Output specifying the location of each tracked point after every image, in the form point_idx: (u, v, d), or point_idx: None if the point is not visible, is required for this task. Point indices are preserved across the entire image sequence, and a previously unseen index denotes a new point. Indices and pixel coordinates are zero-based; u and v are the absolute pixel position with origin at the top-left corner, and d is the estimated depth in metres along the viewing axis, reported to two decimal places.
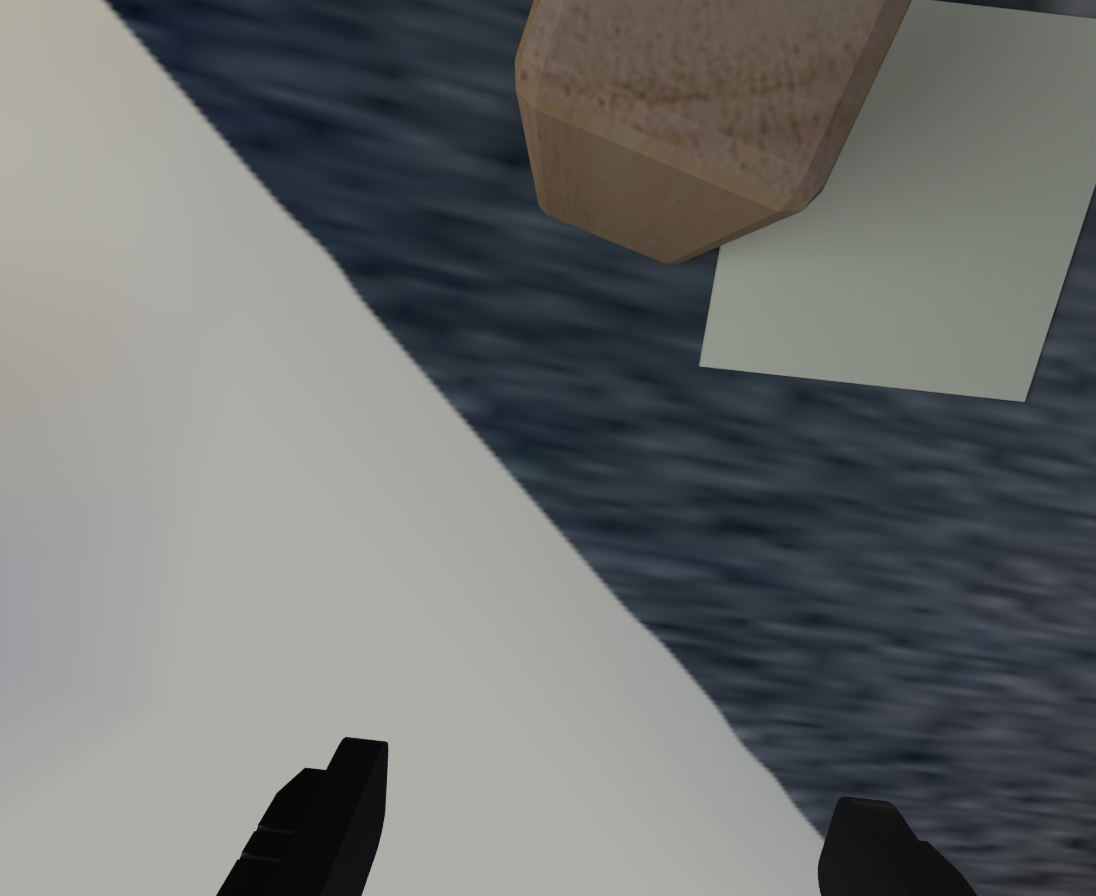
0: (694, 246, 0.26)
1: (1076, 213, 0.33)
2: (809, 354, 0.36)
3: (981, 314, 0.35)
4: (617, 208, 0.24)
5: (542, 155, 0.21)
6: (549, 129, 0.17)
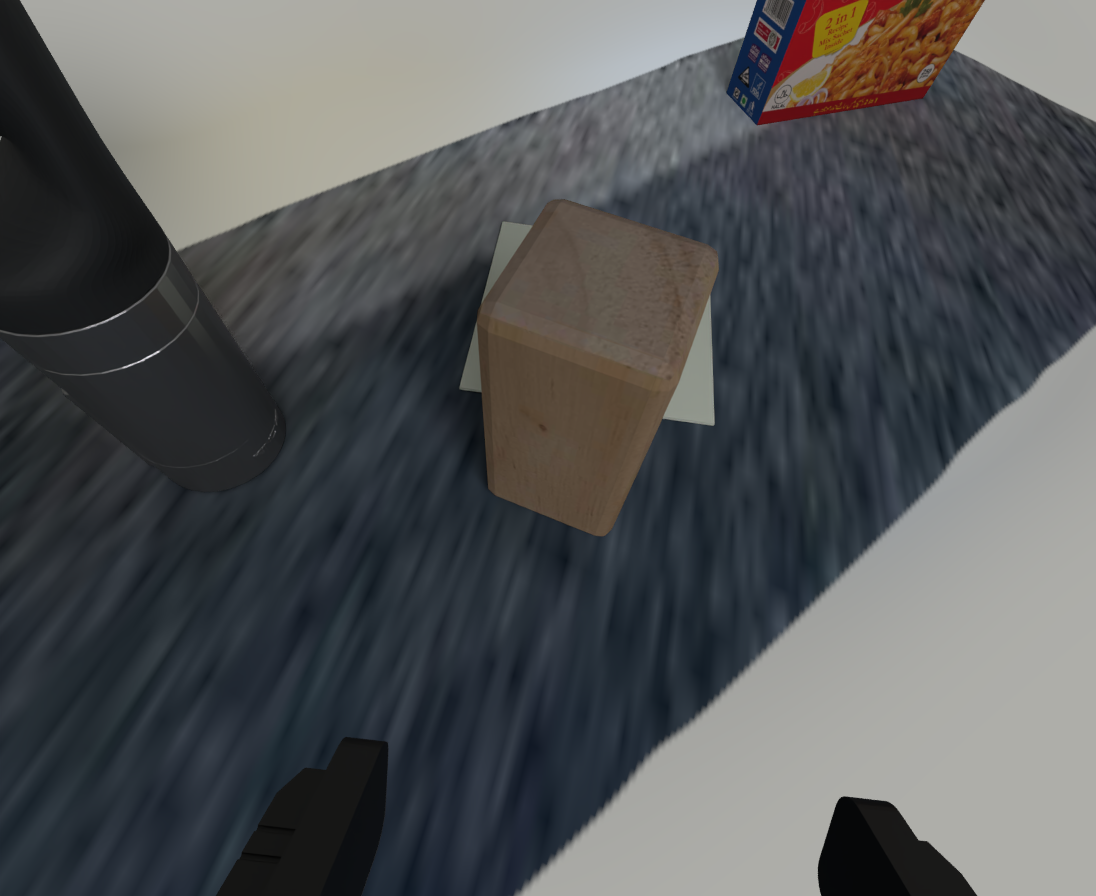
0: None
1: None
2: (695, 357, 0.49)
3: None
4: None
5: (654, 434, 0.28)
6: None
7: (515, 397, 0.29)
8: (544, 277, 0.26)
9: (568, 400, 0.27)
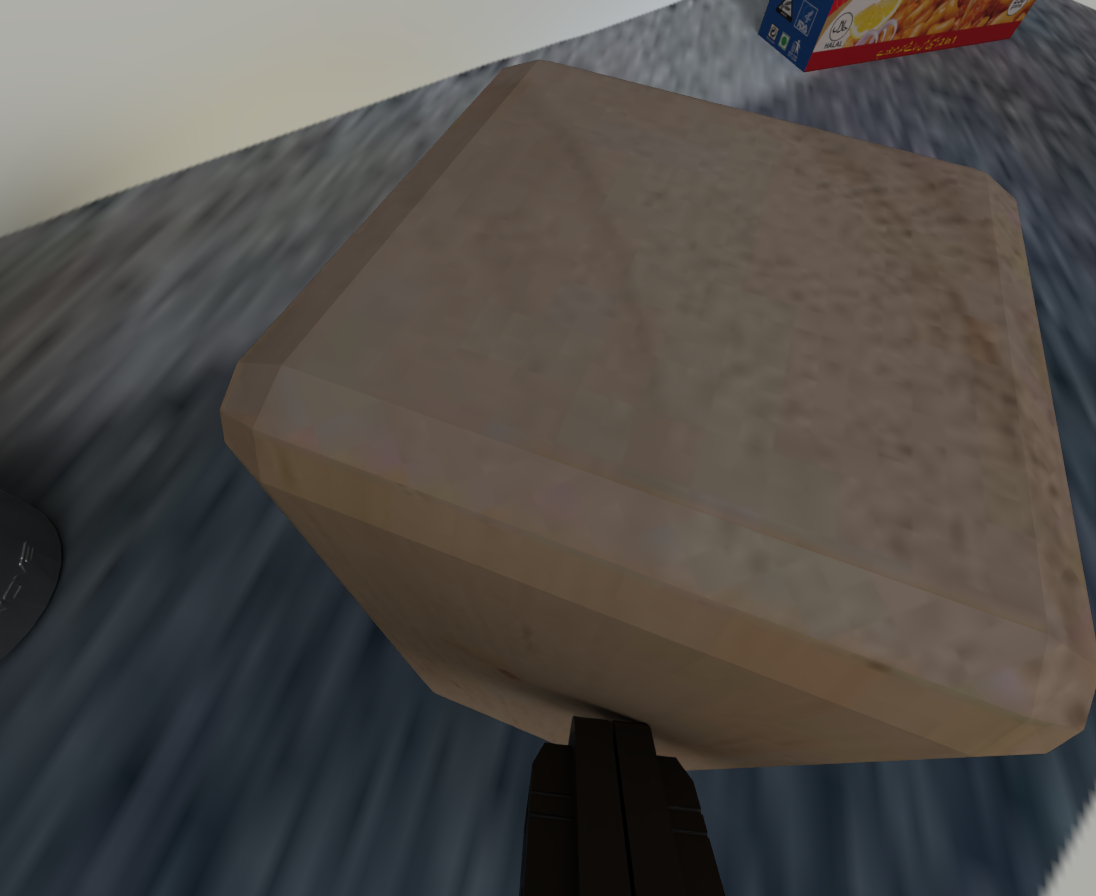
0: None
1: None
2: None
3: None
4: None
5: None
6: None
7: (425, 622, 0.10)
8: (487, 263, 0.07)
9: (583, 667, 0.08)
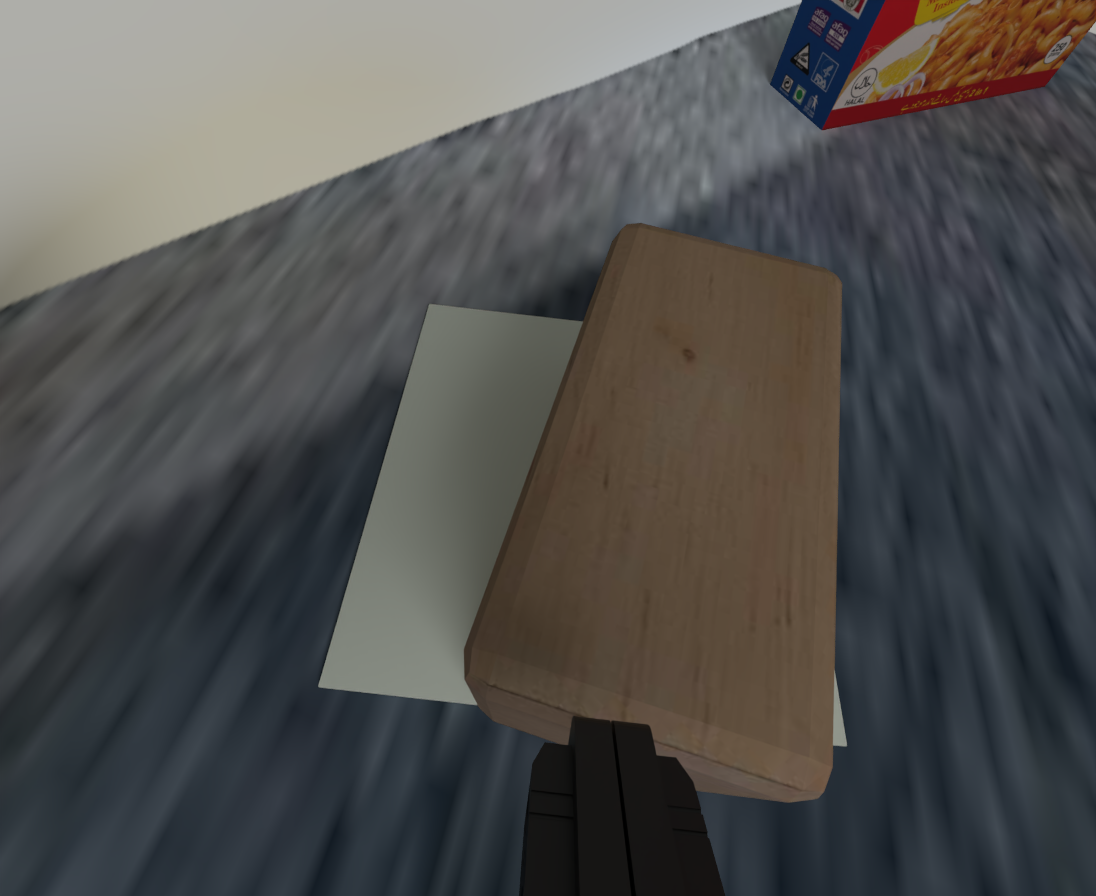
0: None
1: None
2: None
3: None
4: None
5: None
6: None
7: (653, 306, 0.21)
8: None
9: (732, 299, 0.21)
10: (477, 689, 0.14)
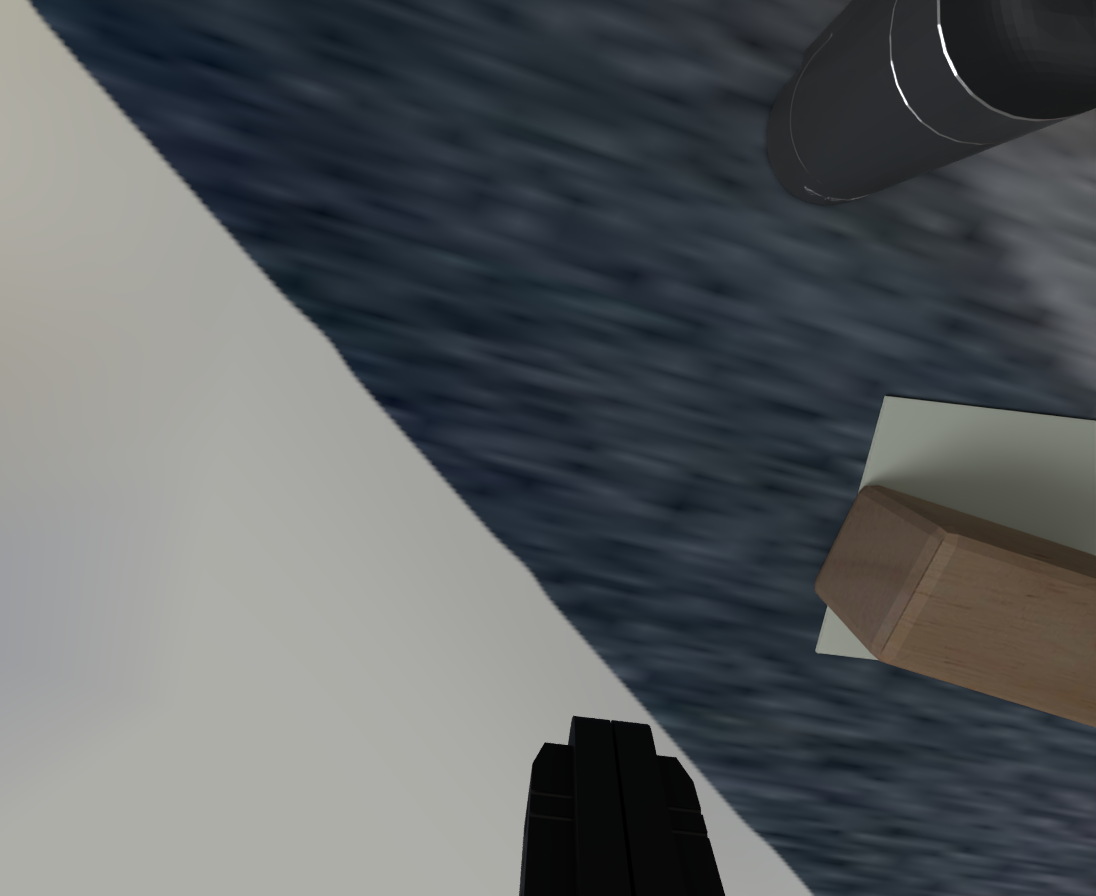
0: None
1: None
2: None
3: None
4: None
5: None
6: None
7: None
8: None
9: None
10: (935, 532, 0.33)
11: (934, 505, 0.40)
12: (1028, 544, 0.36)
